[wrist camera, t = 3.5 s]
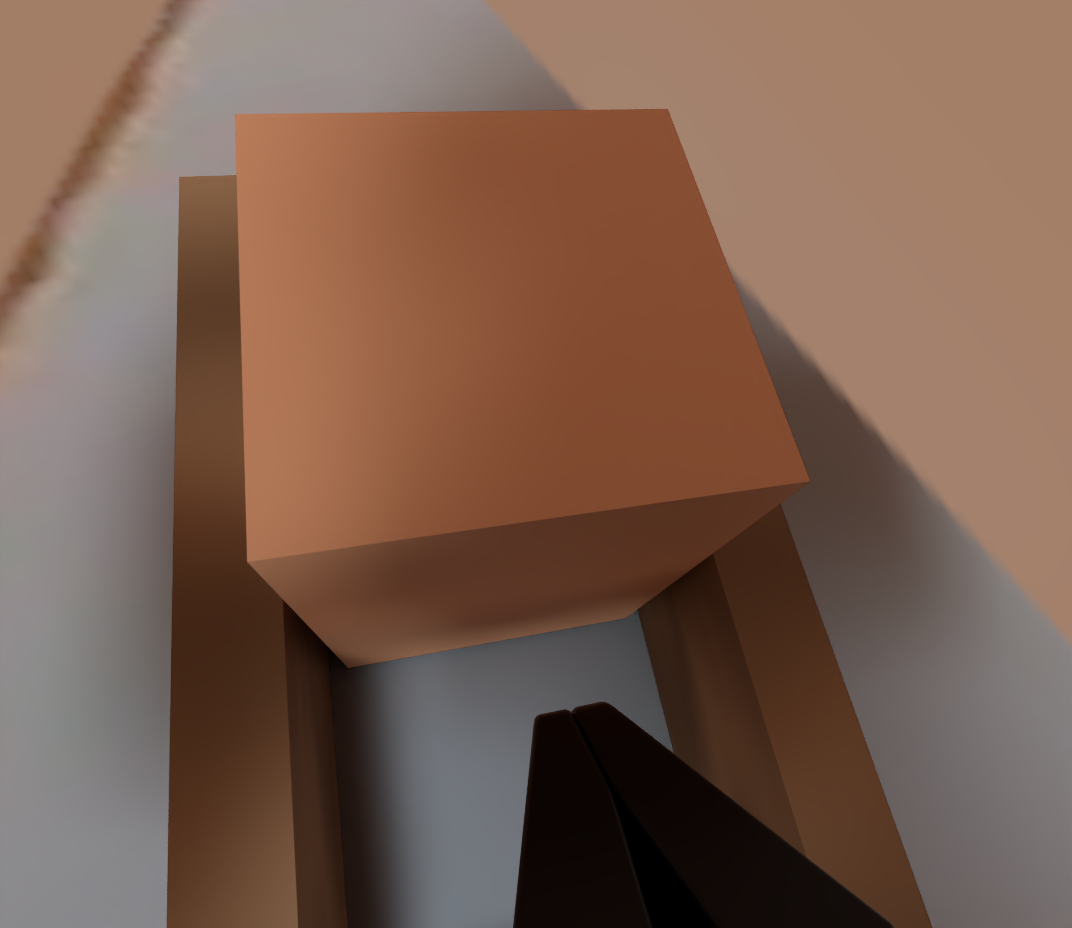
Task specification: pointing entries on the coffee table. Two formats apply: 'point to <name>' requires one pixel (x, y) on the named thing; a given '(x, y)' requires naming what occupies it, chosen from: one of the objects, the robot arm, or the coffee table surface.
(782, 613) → the walnut chute
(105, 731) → the coffee table surface
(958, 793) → the coffee table surface
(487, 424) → the terracotta block
